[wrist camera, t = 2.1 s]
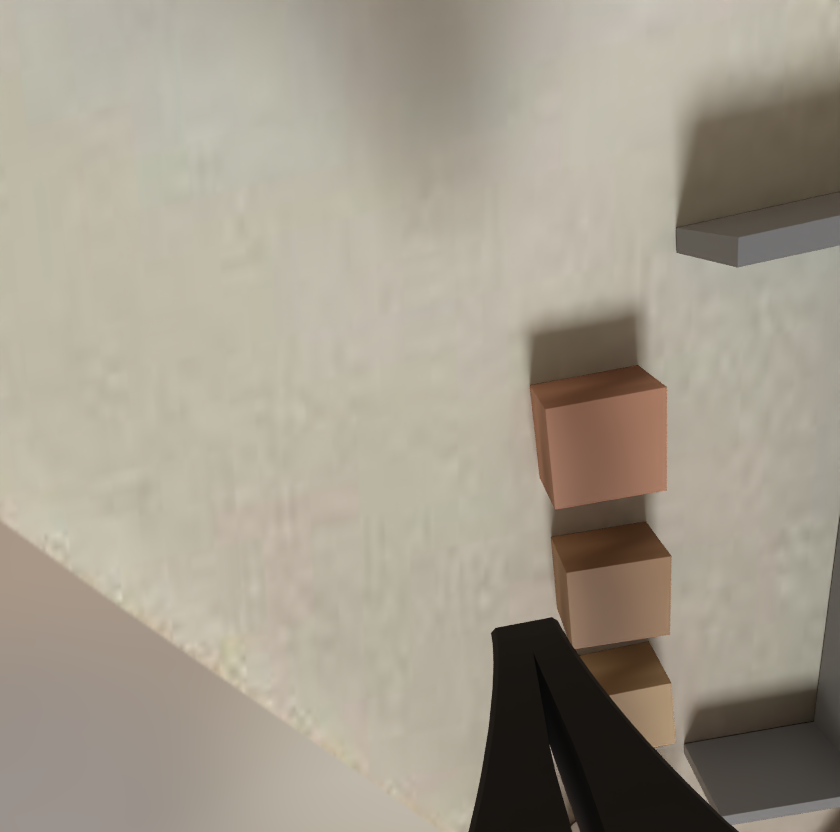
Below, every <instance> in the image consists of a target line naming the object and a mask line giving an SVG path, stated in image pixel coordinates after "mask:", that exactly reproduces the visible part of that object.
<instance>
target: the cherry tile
mask: <svg viewBox="0 0 840 832" xmlns="http://www.w3.org/2000/svg"><path fill="white" fill-rule="evenodd" d="M530 392H531V401H532V411H533V420H534V429H535V438H536V447H537V456H538V465H539V475H540V479H541V481H542V483H543V485H544V488H545V490H546V492H547V494H548V496H549V498H550V500H551V502H552V504H553V506H554V508H555V510H557V509H563V508H568V507H574V506H580V505H585V504H591V503H597V502H603V501H608V500H614V499H620V498H625V497H631V496H637V495H642V494H648V493H654V492H659V491H665V490H667V387H666V386H665V385H663V384H662V383H661V382H659V381H658V380H657V379H655V378H654V377H653V376H652V375H650V374H649V373H648V372H646V371H645V370H644V369H642V368H641V367H640V366H638V365H636V366H631V367H626V368H620V369H615V370H610V371H604V372H599V373H594V374H588V375H583V376H577V377H572V378H567V379H561V380H556V381H551V382H545V383H540V384H535V385H530Z"/></svg>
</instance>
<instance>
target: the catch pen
mask: <svg viewBox="0 0 840 832" xmlns="http://www.w3.org/2000/svg"><path fill="white" fill-rule="evenodd" d="M676 242H677V253H680V254H684V255H688V256H693V257H697V258H701V259H705V260H709V261H713V262H717V263H721V264H726V265H730V266H734V267H742V266H746V265H751V264H755V263H760V262H765V261H769V260H774V259H778V258H783V257H788V256H792V255H797V254H802V253H806V252H811V251H815V250H820V249H825V248H829V247H834V246H838V245H840V192H837V193H832V194H828V195H823V196H819V197H814V198H810V199H805V200H801V201H796V202H792V203H787V204H783V205H778V206H774V207H769V208H765V209H760V210H756V211H751V212H746V213H742V214H737V215H733V216H728V217H724V218H719V219H715V220H710V221H706V222H701V223H697V224H692V225H688V226H683V227H679V228H676ZM684 754H685V756H686V758H687V760H688V762H689V764H690V766H691V768H692V770H693V772H694V774H695V776H696V778H697V780H698V782H699V784H700V786H701V788H702V790H703V792H704V794H705V796H706V798H707V800H708V802H709V804H710V806H711V807H712V808H714V809H715V810H716V811H717V812H718V813H719V814H720V815H721V816H722V817H723V818H724V819H725V820H726V821H727V822H728V823H729V824H730V825H734V824H741V823H747V822H753V821H759V820H765V819H771V818H777V817H783V816H789V815H795V814H801V813H807V812H813V811H819V810H825V809H831V808H837V807H840V522H839V530H838V537H837V545H836V553H835V560H834V568H833V576H832V584H831V591H830V599H829V607H828V615H827V622H826V630H825V638H824V646H823V653H822V661H821V669H820V676H819V684H818V692H817V700H816V707H815V715H814V722H809V723H803V724H797V725H791V726H786V727H780V728H774V729H768V730H763V731H757V732H751V733H745V734H739V735H734V736H728V737H722V738H716V739H711V740H705V741H699V742H693V743H688V744H684Z"/></svg>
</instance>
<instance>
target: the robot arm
mask: <svg viewBox="0 0 840 832" xmlns="http://www.w3.org/2000/svg"><path fill="white" fill-rule="evenodd" d="M491 635H492V642H493V661H494V664H493V690H492V700H491V711H490V721H489V729H488V736H487V742H486V748H485V754H484V761H483V767H482V773H481V778H480V783H479V788H478V793H477V797H476V802H475V806H474V811H473V815H472V819H471V824H470V828H469V832H572V829H571V825H570V822H569V818H568V815H567V811H566V808H565V804H564V801H563V797H562V794H561V790H560V786H559V783H558V779H557V776H556V772H555V768H554V763H553V759H552V754H551V750H552V753H553V756H554V759H555V762H556V764H557V767H558V770H559V773H560V776H561V779H562V782H563V785H564V787H565V790H566V793H567V796H568V799H569V802H570V805H571V807H572V810H573V813H574V816H575V819H576V822H577V825H578V827H579V830H580V832H738V831H737V830H736V829H735V828H734V827H733V826H732V825H730V824H729V823H728V822H727V821H726V820H725V819H724V818H723V817H722V816H721V815H720V814H719V813H718V812H717V811H716V810H715V809H714V808H712V807H711V806H710V805H709V804H708V803H707V802H706V801H705V800H704V799H703V798H702V797H701V796H700V795H699V794H698V793H697V792H696V791H695V790H694V789H693V788H692V787H691V786H690V785H689V784H688V783H687V782H686V781H685V780H684V779H683V778H682V777H681V776H680V775H679V774H678V773H677V772H676V771H675V770H674V769H673V768H672V767H671V766H670V765H669V764H668V763H667V762H666V761H665V759H664V758H663V757H662V756H661V755H660V754H659V753H658V752H657V751H656V750H655V749H654V748H653V747H652V745H651V744H650V743H649V742H648V741H647V740H646V739H645V738H644V736H643V735H642V734H641V733H640V732H639V731H638V730H637V728H636V727H635V726H634V725H633V724H632V723H631V722H630V720H629V719H628V718H627V717H626V716H625V715H624V713H623V712H622V711H621V710H620V709H619V707H618V706H617V705H616V704H615V702H614V701H613V700H612V699H611V697H610V696H609V695H608V694H607V692H606V691H605V690H604V689H603V687H602V686H601V685H600V684H599V682H598V681H597V680H596V678H595V677H594V676H593V674H592V673H591V672H590V670H589V669H588V667H587V666H586V665H585V663H584V662H583V660H582V659H581V658H580V656H579V655H578V653H577V652H576V650H575V649H574V647H573V646H572V644H571V643H570V641H569V640H568V638H567V636H566V635H565V633H564V631H563V630H562V628H561V626H560V624H559V623H558V621H557V620H555V619H554V618H552V617H551V618H546V619H541V620H535V621H530V622H525V623H519V624H514V625H509V626H504V627H498V628H495V629H494V630H493V631H492V633H491ZM549 744H550V745H549ZM550 747H551V750H550Z"/></svg>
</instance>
